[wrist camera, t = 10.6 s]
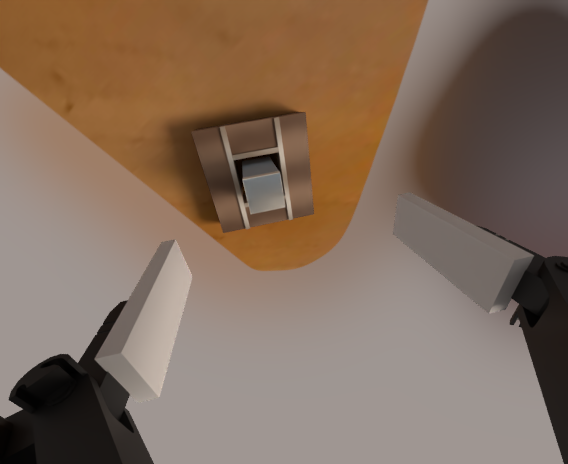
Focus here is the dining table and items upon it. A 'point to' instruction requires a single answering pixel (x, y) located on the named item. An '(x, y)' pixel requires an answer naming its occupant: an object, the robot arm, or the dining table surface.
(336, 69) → the dining table surface
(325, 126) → the dining table surface
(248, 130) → the socket block
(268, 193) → the peg
